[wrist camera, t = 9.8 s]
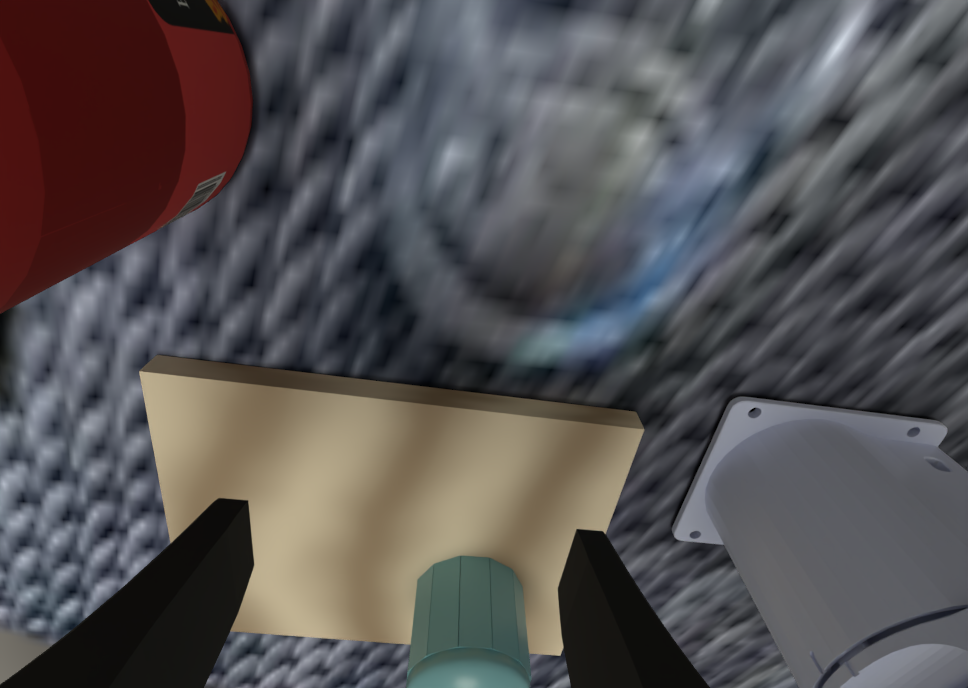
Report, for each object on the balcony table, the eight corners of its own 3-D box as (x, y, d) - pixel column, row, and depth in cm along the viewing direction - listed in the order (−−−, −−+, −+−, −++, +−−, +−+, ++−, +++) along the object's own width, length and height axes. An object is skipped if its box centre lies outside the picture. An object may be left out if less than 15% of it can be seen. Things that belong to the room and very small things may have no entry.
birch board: (636, 411, 22) (644, 429, 20) (556, 633, 28) (560, 655, 27) (156, 355, 20) (139, 371, 19) (197, 605, 27) (186, 627, 26)
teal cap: (528, 560, 24) (541, 672, 19) (512, 627, 26) (520, 741, 22) (420, 552, 24) (408, 664, 19) (413, 621, 26) (401, 735, 21)
